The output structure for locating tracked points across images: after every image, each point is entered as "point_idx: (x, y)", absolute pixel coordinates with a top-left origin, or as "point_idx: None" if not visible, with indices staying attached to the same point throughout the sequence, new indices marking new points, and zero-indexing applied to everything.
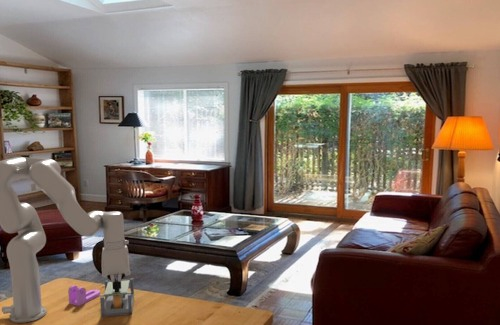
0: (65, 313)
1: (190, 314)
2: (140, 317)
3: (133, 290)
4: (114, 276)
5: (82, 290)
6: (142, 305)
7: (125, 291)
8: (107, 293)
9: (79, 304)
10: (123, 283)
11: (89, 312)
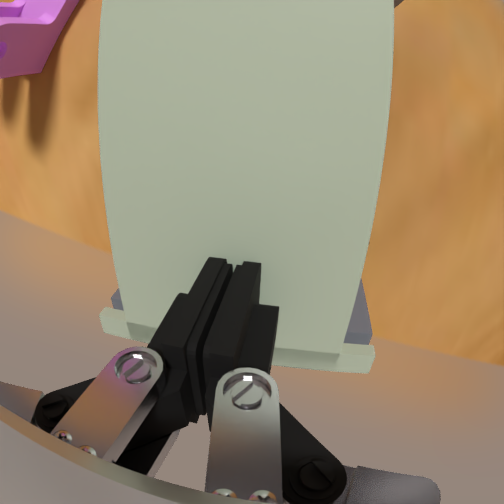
0: (13, 154)
1: None
2: (386, 311)
3: (397, 4)
4: (141, 418)
5: None
6: (431, 161)
7: (323, 338)
8: (150, 321)
9: (36, 71)
10: (311, 51)
11: (98, 163)
